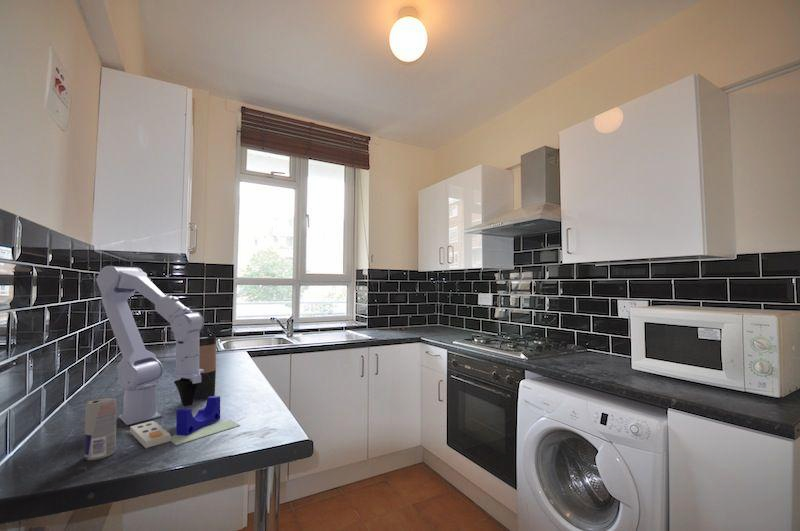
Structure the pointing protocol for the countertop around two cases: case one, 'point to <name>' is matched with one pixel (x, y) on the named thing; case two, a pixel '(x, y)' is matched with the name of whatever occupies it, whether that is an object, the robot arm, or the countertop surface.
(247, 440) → the countertop surface
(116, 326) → the robot arm
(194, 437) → the mat
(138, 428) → the power strip
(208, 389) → the travel mug
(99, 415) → the energy drink
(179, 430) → the cable clip
